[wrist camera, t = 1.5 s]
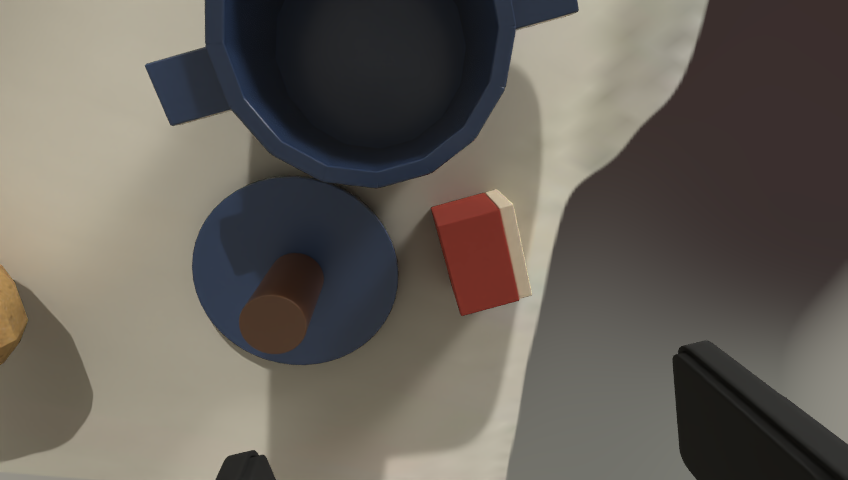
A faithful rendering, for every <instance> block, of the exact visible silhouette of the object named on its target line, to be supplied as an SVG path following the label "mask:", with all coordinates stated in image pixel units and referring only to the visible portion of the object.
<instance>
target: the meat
mask: <svg viewBox="0 0 848 480" xmlns="http://www.w3.org/2000/svg"><path fill="white" fill-rule="evenodd" d="M431 211H432V214H433V218H434V222H435V226H436V229H437V233H438V237H439V240H440V244H441V248H442V252H443V255H444V259H445V263H446V266H447V270H448V274H449V278H450V281H451V285H452V288H453V292H454V295H455V298H456V301H457V305H458V308H459V311H460V314H461V316H464V315H468V314H471V313H475V312H479V311H482V310H486V309H490V308H494V307H497V306H501V305H505V304H508V303H512V302H516V301H519V299H520V298H524V297H528V296H531V295H532V291H531V287H530V282H529V277H528V272H527V267H526V263H525V258H524V253H523V248H522V243H521V239H520V234H519V229H518V224H517V219H516V215H515V210H514V205H513V204H512V203H511V202H510V201H509V200H508V199H507V198H506V197H505V196H504V195H502V194H501V193H500V192H499V191H498V190H497V189H496V190H492V191H488V192H485V193H481V194H477V195H474V196H470V197H467V198H463V199H459V200H456V201H452V202H448V203H445V204H441V205H437V206H434V207H431Z"/></svg>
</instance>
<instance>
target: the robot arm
mask: <svg viewBox="0 0 848 480" xmlns="http://www.w3.org/2000/svg"><path fill="white" fill-rule="evenodd" d="M673 373H674V385H675V398H676V411H677V424H678V435H679V449H680V454H681V457H682V459H683V461H684V463H685V465H686V467H687V468H688V469H689V471H690V472H691V473H692V474H693V476H694V477H695V478H696V479H697V480H848V444H846V443H845V442H844V441H843V440H841V439H840V438H839V437H837V436H836V435H835V434H833V433H832V432H830V431H829V430H828V429H827V428H825V427H824V426H823V425H821V424H820V423H819V422H817V421H816V420H815V419H813V418H812V417H811V416H809V415H808V414H807V413H805V412H804V411H803V410H802V409H800V408H799V407H798V406H796V405H795V404H794V403H792V402H791V401H790V400H788V399H787V398H785V397H784V396H782V395H781V394H779V393H777V392H776V391H775V390H774V389H772V388H771V387H770V386H769V385H767V384H766V383H765V382H763V381H762V380H760V379H759V378H758V377H757V376H755V375H754V374H752V373H751V372H750V371H749V370H747V369H746V368H745V367H743V366H742V365H741V364H739V363H738V362H737V361H736V360H734V359H733V358H731V357H730V356H729V355H728V354H726V353H725V352H724V351H722V350H721V349H720V348H718V347H717V346H716V345H714V344H713V343H711V342H710V341H701V342H697V343H693V344H688V345H684V346H681V347H680V348H679V350H678V354H676V355H674V356H673ZM216 480H276V479H275V477H274V474H273V472H272V469H271V467H270V465H269V462H268V460H267V458H266V456H264V455H260V456H259V455H258V453H257V452H256V451H255V450H251V451H247V452H243V453H239V454H235V455H231V456H228V457H227V458H226V459H225V461H224V462H223V465H222V467H221V469H220V471H219V473H218V475H217V478H216Z"/></svg>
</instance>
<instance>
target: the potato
mask: <svg viewBox="0 0 848 480" xmlns="http://www.w3.org/2000/svg"><path fill="white" fill-rule="evenodd" d="M27 321H28V318H27V315H26V313H25V310H24V307H23V304H22V301H21V299H20V296H19V293H18V290H17V287H16V285H15V283H14V281H13V280H12V278H11V277H10V276H9V274H8V273H7V272H6V270H5V269H4V268H3V266H2V265H0V365H1V364H3V363H4V362H5V361H6V359H7V358H8V357H9V355H10V354H11V353H12V351H13V350H14V349H15V347H16V346H17V345H18V343H19V342H20V340H21V337H22V335H23V332H24V329H25V327H26V324H27Z"/></svg>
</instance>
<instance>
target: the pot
mask: <svg viewBox="0 0 848 480" xmlns="http://www.w3.org/2000/svg"><path fill="white" fill-rule="evenodd" d="M578 10H579V9H578V2H577V0H205V44H206V47H204V48H200V49H197V50H193V51H189V52H186V53H182V54H179V55H175V56H172V57H168V58H165V59H161V60H158V61H154V62H151V63H147V64H146V65H145V67H146V70H147V72H148V74H149V77H150V79H151V81H152V84H153V86H154V88H155V91H156V93H157V95H158V97H159V100H160V102H161V104H162V107H163V109H164V111H165V114H166V116H167V118H168V121H169V123H170V125H171V126H175V125H181V124H185V123H189V122H192V121H196V120H200V119H203V118H207V117H210V116H214V115H217V114H221V113H224V112H228V111H233V112H234V113H235V114H236V116H237V117H238V118H239V119H240V120H241V121H242V122H243V124H244V125H245V126H246V127H247V128H248V129H249V130H250V132H251V133H252V134H253V135H254V136H255V137H256V138H257V140H258V141H259V142H260V143H261V144H262V145H263V146H264V147H265V149H266V150H267V151H268V152H269V153H271V154H272V155H273V156H275V157H277V158H278V159H280V160H282V161H284V162H286V163H288V164H290V165H292V166H293V167H295V168H297V169H299V170H301V171H303V172H305V173H307V174H308V175H310V176H312V177H314V178H316V179H318V180H320V181H323V182H327V183H335V184H344V185H352V186H361V187H370V188H381V187H385V186H388V185H392V184H396V183H399V182H403V181H406V180H410V179H414V178H417V177H421V176H424V175H428V174H430V173H433V172H434V171H435V170H436V169H438V168H439V167H440V166H442V165H443V164H444V163H446V162H447V161H448V160H449V159H451V158H452V157H453V156H455V155H456V154H457V153H458V152H460V151H461V150H462V149H464V148H465V147H466V146H468V145H469V144H470V143H471V142H473V141H474V140H475V138H476V137H477V136H478V134H479V132H480V131H481V129H482V127H483V126H484V124H485V122H486V120H487V119H488V117H489V115H490V114H491V112H492V110H493V109H494V107H495V105H496V104H497V102H498V100H499V99H500V97H501V95H502V94H503V92H504V90H505V89H504V88H505V87H506V83H507V77H508V72H509V66H510V60H511V55H512V49H513V43H514V38H515V32H516V30H519V29H523V28H527V27H530V26H534V25H537V24H541V23H544V22H548V21H551V20H555V19H559V18H562V17H566V16H569V15H572V14H574V13H576V12H578Z"/></svg>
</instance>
